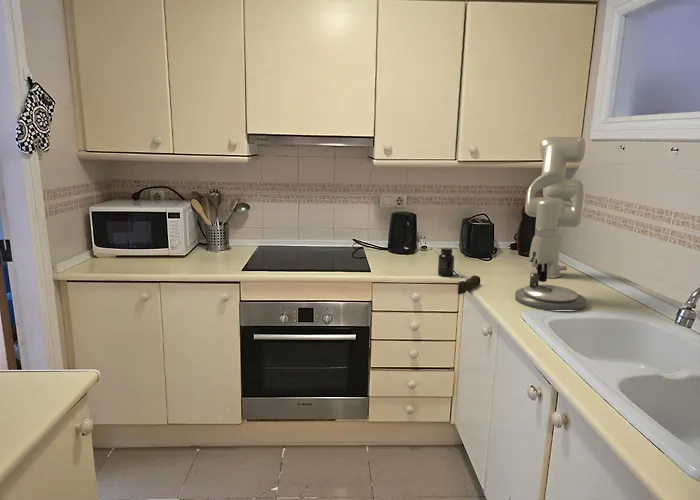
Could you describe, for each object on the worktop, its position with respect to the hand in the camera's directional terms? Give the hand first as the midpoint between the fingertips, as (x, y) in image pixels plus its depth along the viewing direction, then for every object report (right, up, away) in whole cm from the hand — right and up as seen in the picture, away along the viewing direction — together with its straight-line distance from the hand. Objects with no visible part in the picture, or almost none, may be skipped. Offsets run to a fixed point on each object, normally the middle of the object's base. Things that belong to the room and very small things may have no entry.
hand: (541, 280), depth 181 cm
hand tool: (-26, -4, +8) cm, 27 cm away
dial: (0, -5, -7) cm, 8 cm away
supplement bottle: (-30, 0, +30) cm, 43 cm away
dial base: (0, -7, -6) cm, 9 cm away
